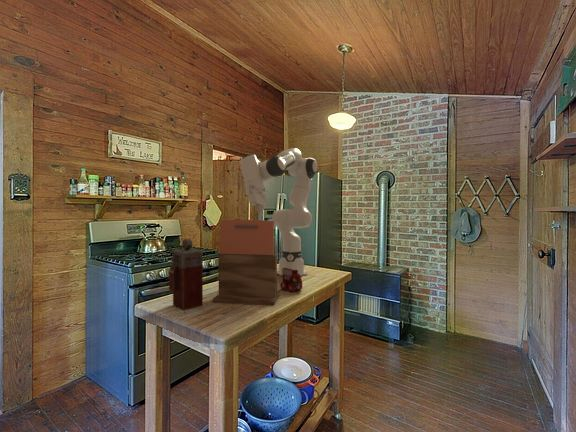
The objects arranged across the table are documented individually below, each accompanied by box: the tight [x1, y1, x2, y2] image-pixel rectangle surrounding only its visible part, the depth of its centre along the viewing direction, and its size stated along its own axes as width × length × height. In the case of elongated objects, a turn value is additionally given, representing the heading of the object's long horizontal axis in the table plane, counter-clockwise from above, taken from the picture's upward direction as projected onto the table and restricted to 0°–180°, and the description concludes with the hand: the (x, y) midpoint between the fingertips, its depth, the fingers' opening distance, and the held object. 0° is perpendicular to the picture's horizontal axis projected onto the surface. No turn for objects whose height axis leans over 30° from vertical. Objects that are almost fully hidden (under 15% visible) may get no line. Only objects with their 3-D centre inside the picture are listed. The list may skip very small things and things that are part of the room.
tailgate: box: [219, 219, 275, 255], centre depth 136 cm, size 2×24×15 cm, turn 82°
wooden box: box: [212, 252, 280, 306], centre depth 137 cm, size 14×27×20 cm, turn 82°
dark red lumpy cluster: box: [279, 268, 303, 293], centre depth 152 cm, size 7×12×10 cm, turn 47°
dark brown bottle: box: [168, 238, 204, 311], centre depth 127 cm, size 9×11×28 cm
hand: (260, 215), depth 148 cm, fingers closed
